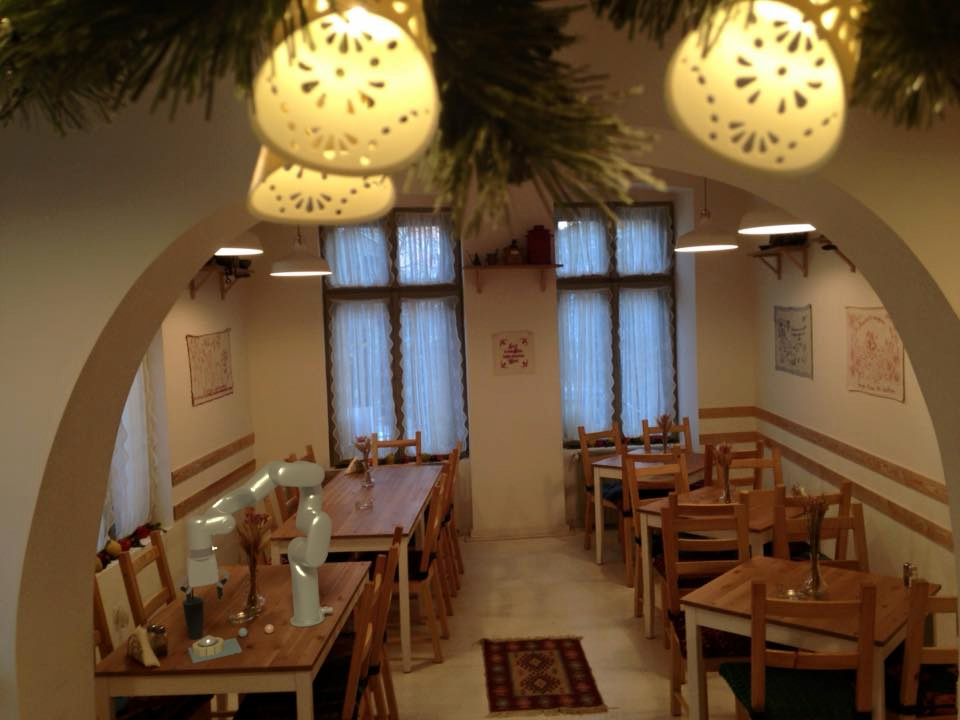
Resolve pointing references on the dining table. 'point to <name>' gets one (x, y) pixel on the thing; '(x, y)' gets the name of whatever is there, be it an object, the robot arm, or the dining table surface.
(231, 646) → the bearing housing
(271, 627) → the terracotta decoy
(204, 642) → the steel ball
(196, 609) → the drinking cup
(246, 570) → the dining table surface
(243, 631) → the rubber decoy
